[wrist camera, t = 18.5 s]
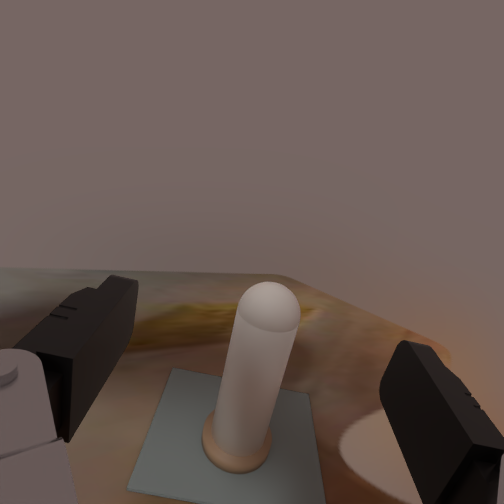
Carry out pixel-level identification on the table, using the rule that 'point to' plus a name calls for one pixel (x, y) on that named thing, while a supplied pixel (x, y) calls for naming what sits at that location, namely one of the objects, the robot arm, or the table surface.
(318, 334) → the table surface
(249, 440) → the skittle
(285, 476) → the mat
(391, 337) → the table surface
